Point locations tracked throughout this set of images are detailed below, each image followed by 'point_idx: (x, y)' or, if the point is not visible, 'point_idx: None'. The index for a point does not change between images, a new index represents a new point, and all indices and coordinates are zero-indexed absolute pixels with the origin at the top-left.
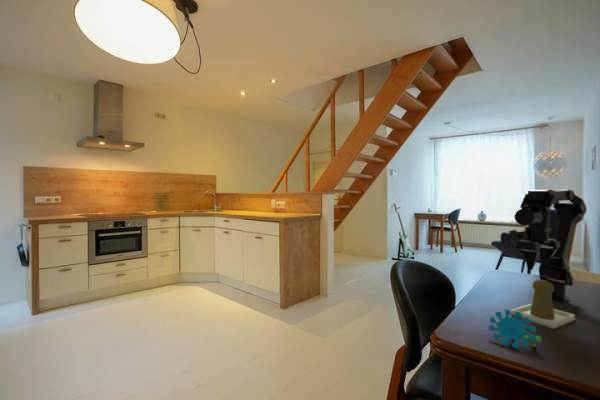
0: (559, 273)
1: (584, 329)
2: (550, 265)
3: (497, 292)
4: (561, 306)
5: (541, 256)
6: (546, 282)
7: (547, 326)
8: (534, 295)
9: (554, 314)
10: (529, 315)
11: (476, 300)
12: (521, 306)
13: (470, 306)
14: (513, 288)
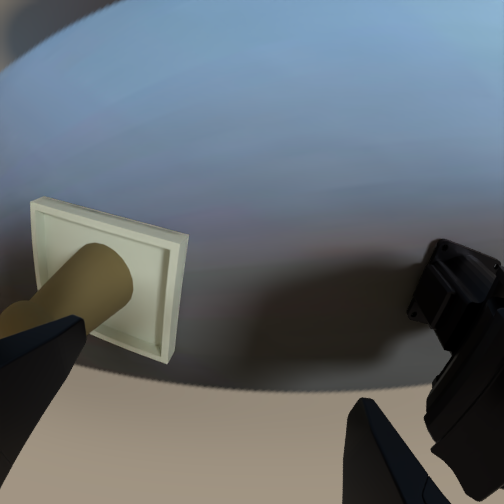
0: (431, 417)
1: (123, 361)
2: (488, 410)
3: (333, 39)
4: (333, 318)
5: (389, 499)
6: None
7: None
8: (39, 290)
9: (153, 309)
10: (34, 256)
11: (90, 43)
12: (83, 217)
13: (21, 79)
14: (493, 107)
